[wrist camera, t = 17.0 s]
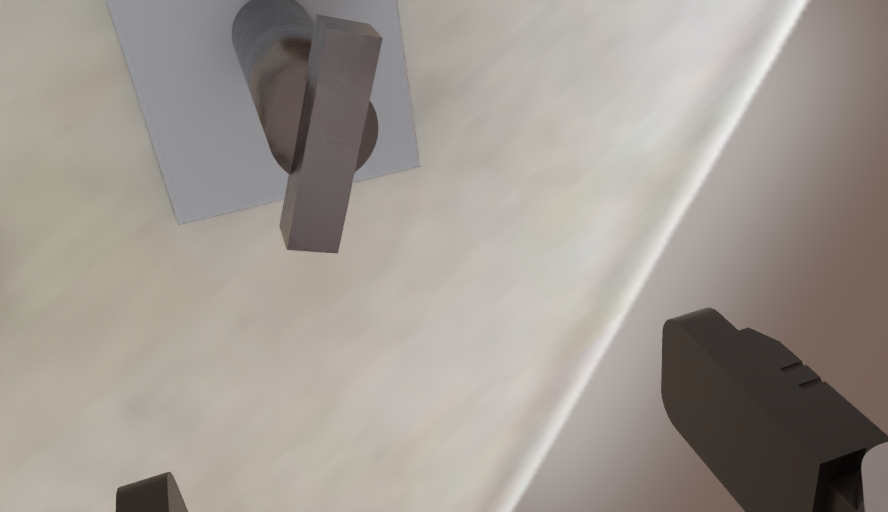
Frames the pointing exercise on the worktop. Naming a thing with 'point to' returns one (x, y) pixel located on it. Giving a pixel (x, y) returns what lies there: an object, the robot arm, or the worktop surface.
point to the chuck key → (311, 109)
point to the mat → (239, 100)
